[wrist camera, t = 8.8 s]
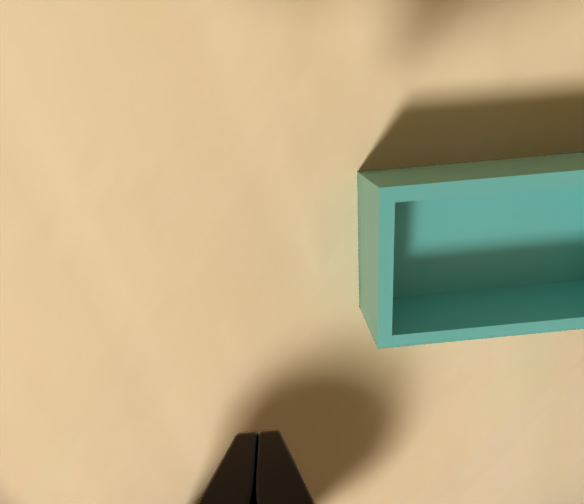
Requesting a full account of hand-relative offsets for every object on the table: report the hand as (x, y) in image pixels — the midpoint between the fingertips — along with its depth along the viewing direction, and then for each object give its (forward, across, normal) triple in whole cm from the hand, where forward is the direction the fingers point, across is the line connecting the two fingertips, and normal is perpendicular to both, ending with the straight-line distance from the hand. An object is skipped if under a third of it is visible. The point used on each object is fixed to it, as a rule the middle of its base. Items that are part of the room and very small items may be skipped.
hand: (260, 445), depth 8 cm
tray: (+12, -11, 0) cm, 16 cm away
